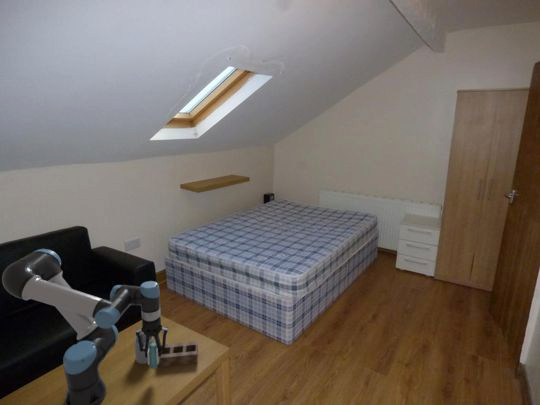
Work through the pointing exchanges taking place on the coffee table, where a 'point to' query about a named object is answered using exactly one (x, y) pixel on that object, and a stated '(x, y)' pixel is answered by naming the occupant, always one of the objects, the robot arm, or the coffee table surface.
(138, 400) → the coffee table surface
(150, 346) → the peg
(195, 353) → the hole block
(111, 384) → the coffee table surface
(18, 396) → the coffee table surface
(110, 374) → the coffee table surface
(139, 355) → the mug
